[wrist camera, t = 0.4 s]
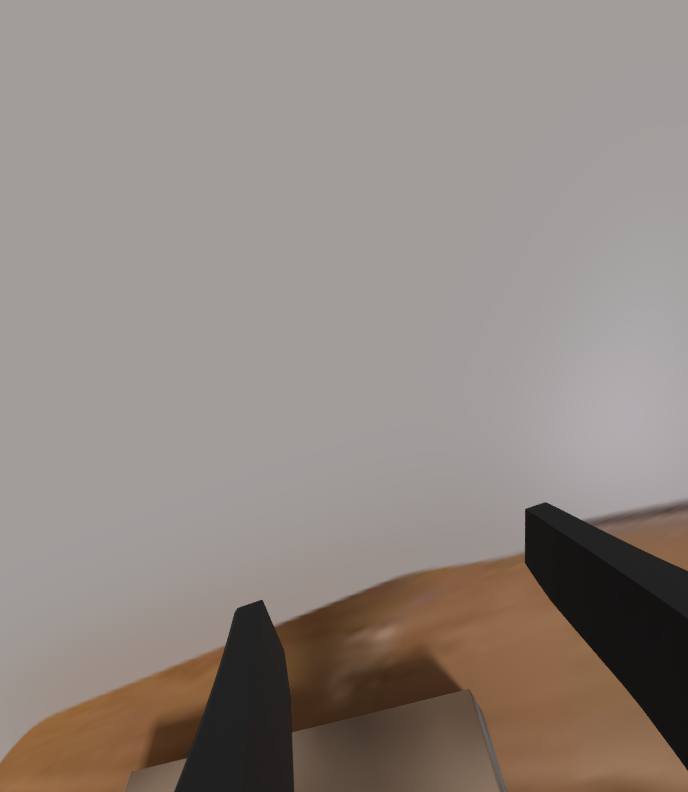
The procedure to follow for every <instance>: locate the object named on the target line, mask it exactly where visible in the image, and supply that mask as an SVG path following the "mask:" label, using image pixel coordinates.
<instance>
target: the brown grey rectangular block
mask: <svg viewBox="0 0 688 792" xmlns="http://www.w3.org/2000/svg"><path fill="white" fill-rule="evenodd" d="M292 744H293V770H294V792H507V791H506V788H505V785H504V782H503V778H502V775H501V772H500V768H499V765H498V762H497V759H496V755H495V752H494V749H493V746H492V742H491V739H490V736H489V733H488V729H487V726H486V723H485V719H484V716H483V713H482V711H481V709H480V707H479V705H478V704H477V702H476V700H475V698H474V697H473V695H472V693H471V691H470V690H469V689H467V690H463V691H458V692H454V693H450V694H446V695H442V696H438V697H434V698H430V699H426V700H422V701H418V702H414V703H410V704H406V705H401V706H397V707H393V708H389V709H385V710H381V711H377V712H373V713H369V714H365V715H361V716H357V717H353V718H348V719H344V720H340V721H336V722H332V723H328V724H324V725H320V726H316V727H312V728H308V729H304V730H300V731H296V732H292ZM186 759H187V758H186ZM186 759H181V760H177V761H173V762H169V763H165V764H161V765H157V766H153V767H149V768H145V769H141V770H137V771H133V772H131V774H130V778H129V781H128V784H127V788H126V791H125V792H174V790H175V788H176V785H177V783H178V780H179V778H180V775H181V773H182V770H183V767H184V765H185V762H186Z"/></svg>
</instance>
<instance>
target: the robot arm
mask: <svg viewBox="0 0 688 792" xmlns="http://www.w3.org/2000/svg"><path fill="white" fill-rule="evenodd" d="M525 564H526V565H527V567H528V568H529V570H530V571H531V573H532V574H533V576H534V577H535V579H536V580H537V582H538V583H539V585H540V586H541V587H542V589H543V590H544V592H545V593H546V595H547V596H548V597H549V599H550V600H551V601H552V603H553V604H554V605H555V606H556V607H557V609H558V610H559V611H560V612H561V613H562V614H563V616H564V617H565V618H566V619H567V620H568V622H569V623H570V624H571V625H572V626H573V627H574V629H575V630H576V631H577V632H578V633H579V634H580V636H581V637H582V638H583V639H584V640H585V641H586V643H587V644H588V645H589V646H590V647H591V648H592V650H593V651H594V652H595V653H596V654H597V655H598V657H599V658H600V659H601V660H602V661H603V662H604V663H605V665H606V666H607V667H608V668H609V669H610V670H611V672H612V673H613V674H614V675H615V676H616V677H617V679H618V680H619V681H620V682H621V683H622V684H623V686H624V687H625V688H626V689H627V690H628V692H629V693H630V694H631V695H632V697H633V698H634V699H635V700H636V702H637V703H638V704H639V705H640V707H641V708H642V709H643V710H644V712H645V713H646V714H647V716H648V717H649V718H650V720H651V721H652V722H653V724H654V725H655V727H656V728H657V729H658V731H659V732H660V733H661V735H662V736H663V737H664V739H665V740H666V741H667V743H668V744H669V745H670V747H671V748H672V749H673V751H674V752H675V754H676V755H677V756H678V758H679V759H680V760H681V762H682V763H683V765H684V766H685V767H686V769H687V770H688V571H686V570H684V569H682V568H680V567H677V566H675V565H673V564H671V563H668V562H666V561H664V560H662V559H660V558H658V557H655V556H653V555H651V554H649V553H647V552H645V551H643V550H641V549H638V548H636V547H634V546H632V545H630V544H628V543H626V542H624V541H622V540H620V539H618V538H616V537H614V536H612V535H610V534H608V533H606V532H604V531H602V530H600V529H598V528H596V527H594V526H592V525H590V524H588V523H586V522H584V521H582V520H580V519H578V518H576V517H574V516H572V515H570V514H568V513H566V512H564V511H562V510H560V509H558V508H556V507H554V506H552V505H550V504H548V503H546V502H545V503H542V504H539V505H536V506H533V507H530V508H527V509H525ZM174 792H294V770H293V744H292V719H291V698H290V690H289V682H288V675H287V667H286V660H285V653H284V649H283V647H282V645H281V642H280V640H279V638H278V635H277V633H276V631H275V628H274V626H273V624H272V621H271V619H270V617H269V614H268V612H267V609H266V607H265V605H264V602H263V600H260V601H257V602H254V603H252V604H248V605H245V606H242V607H240V608H237V610H236V611H235V613H234V617H233V621H232V625H231V628H230V632H229V636H228V639H227V643H226V646H225V650H224V653H223V656H222V659H221V663H220V666H219V669H218V672H217V675H216V679H215V682H214V684H213V687H212V690H211V693H210V696H209V699H208V702H207V705H206V708H205V711H204V714H203V717H202V720H201V722H200V725H199V728H198V731H197V733H196V736H195V739H194V741H193V744H192V746H191V749H190V752H189V754H188V757H187V759H186V762H185V765H184V767H183V770H182V773H181V775H180V778H179V780H178V783H177V785H176V788H175V790H174Z"/></svg>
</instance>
